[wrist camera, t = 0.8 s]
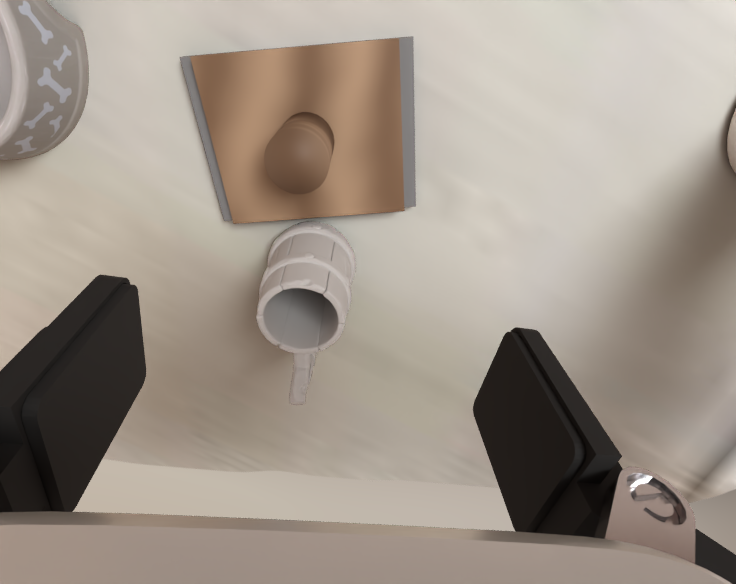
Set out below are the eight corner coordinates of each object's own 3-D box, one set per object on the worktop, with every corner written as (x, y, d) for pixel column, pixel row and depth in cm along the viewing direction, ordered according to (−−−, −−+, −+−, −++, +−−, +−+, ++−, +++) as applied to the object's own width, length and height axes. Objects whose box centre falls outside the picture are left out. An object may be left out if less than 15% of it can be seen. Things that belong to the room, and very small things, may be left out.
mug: (359, 220, 36) (358, 294, 26) (350, 329, 43) (347, 423, 32) (270, 213, 36) (233, 286, 26) (274, 325, 42) (246, 418, 32)
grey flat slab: (411, 36, 29) (413, 36, 28) (414, 202, 36) (415, 206, 35) (184, 56, 30) (179, 57, 29) (227, 216, 36) (224, 220, 35)
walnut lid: (398, 38, 28) (407, 40, 23) (403, 207, 35) (411, 242, 29) (193, 56, 29) (151, 62, 23) (236, 220, 35) (211, 257, 29)
